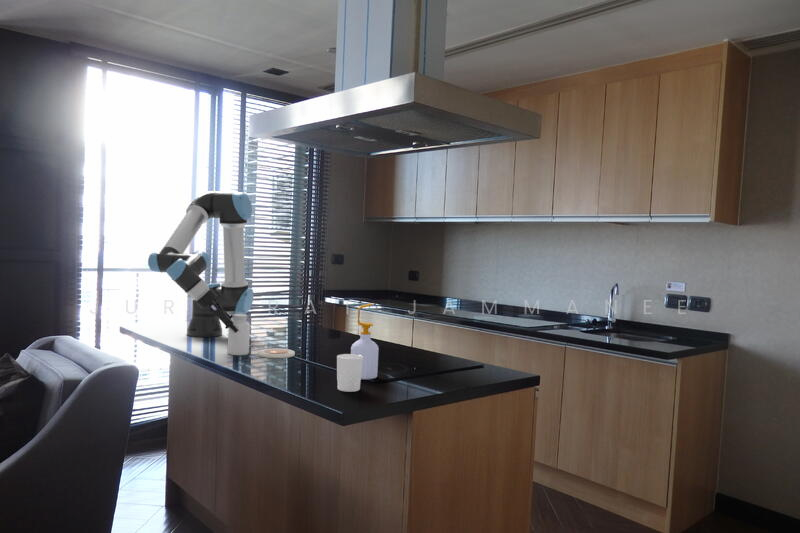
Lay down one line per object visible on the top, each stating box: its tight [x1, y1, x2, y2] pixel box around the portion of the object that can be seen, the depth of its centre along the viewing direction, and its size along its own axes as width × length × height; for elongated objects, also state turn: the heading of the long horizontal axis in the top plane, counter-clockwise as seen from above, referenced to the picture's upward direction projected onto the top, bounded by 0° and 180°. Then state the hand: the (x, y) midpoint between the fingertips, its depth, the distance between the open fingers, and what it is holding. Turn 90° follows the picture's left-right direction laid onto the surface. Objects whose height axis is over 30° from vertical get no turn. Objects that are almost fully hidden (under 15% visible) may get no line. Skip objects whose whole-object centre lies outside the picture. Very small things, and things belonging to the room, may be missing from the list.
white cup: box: [336, 353, 363, 393], centre depth 176 cm, size 8×8×10 cm
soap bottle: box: [350, 302, 380, 380], centre depth 194 cm, size 9×9×25 cm
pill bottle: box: [226, 313, 251, 356], centre depth 222 cm, size 8×8×15 cm
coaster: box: [257, 348, 296, 359], centre depth 224 cm, size 14×14×1 cm
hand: (242, 334), depth 223 cm, fingers open, 13 cm apart
